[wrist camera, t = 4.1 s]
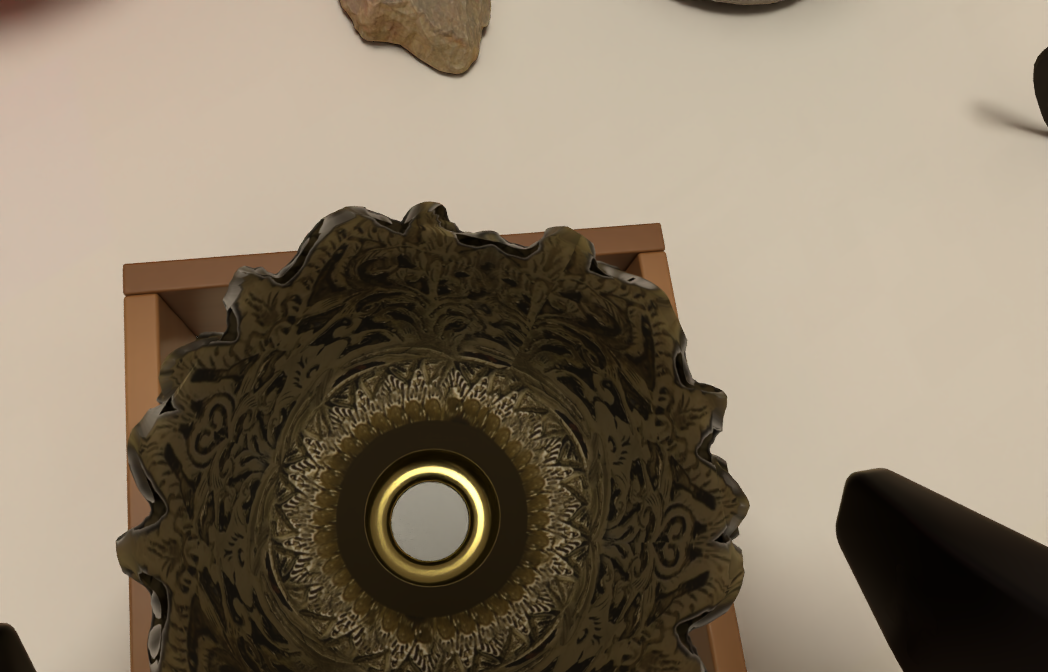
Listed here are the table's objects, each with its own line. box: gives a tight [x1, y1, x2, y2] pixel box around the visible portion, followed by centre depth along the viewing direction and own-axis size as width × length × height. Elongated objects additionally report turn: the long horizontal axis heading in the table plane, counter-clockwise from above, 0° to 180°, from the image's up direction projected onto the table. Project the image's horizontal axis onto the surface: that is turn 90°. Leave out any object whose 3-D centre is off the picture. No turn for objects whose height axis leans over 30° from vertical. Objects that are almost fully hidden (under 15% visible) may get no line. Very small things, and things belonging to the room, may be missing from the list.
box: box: [123, 223, 747, 672], centre depth 16 cm, size 10×10×3 cm
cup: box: [116, 202, 750, 672], centre depth 13 cm, size 8×7×8 cm
